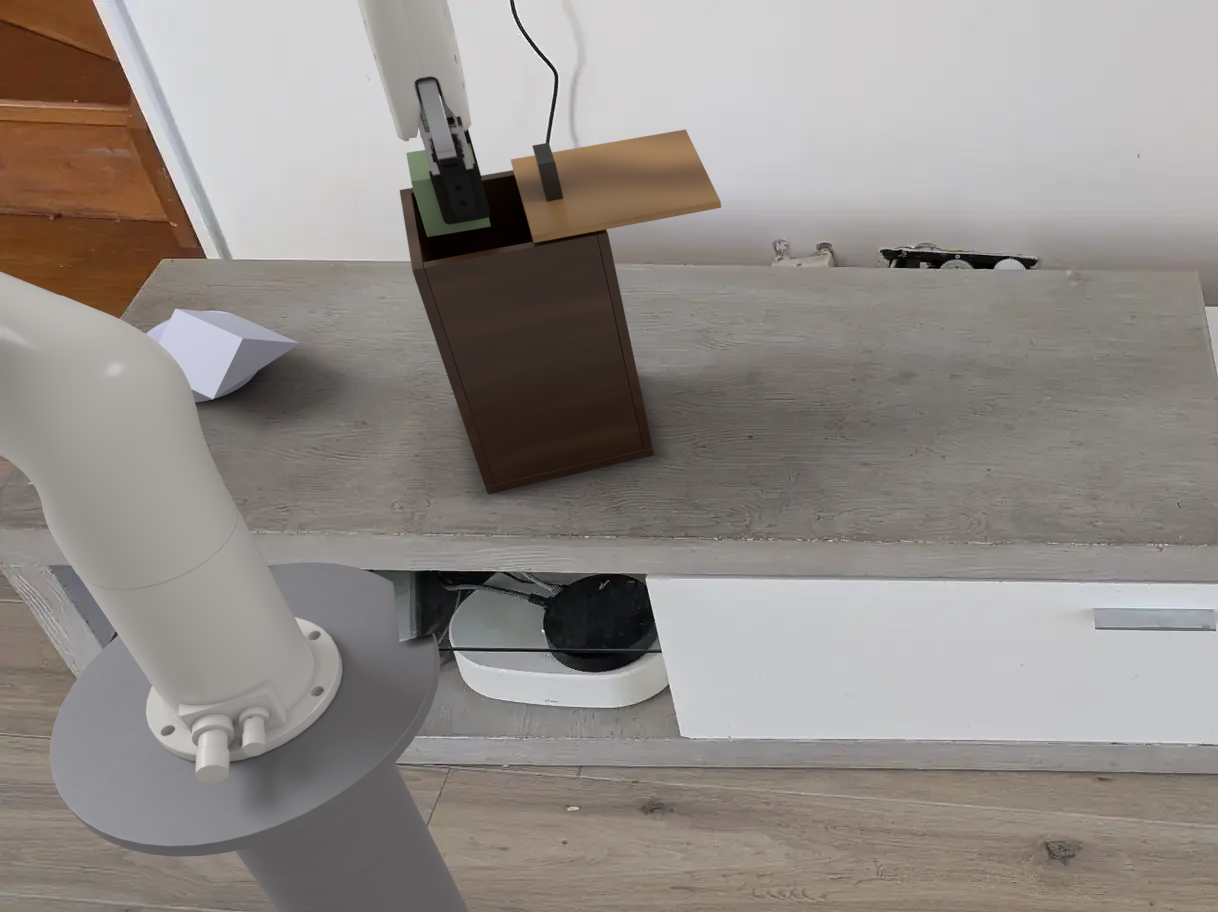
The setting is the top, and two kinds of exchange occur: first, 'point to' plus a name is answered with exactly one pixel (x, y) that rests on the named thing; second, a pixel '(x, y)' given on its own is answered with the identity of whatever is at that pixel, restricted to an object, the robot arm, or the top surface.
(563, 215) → the lid
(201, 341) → the white faceted chunk
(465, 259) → the box
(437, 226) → the block
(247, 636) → the robot arm
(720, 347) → the top surface
